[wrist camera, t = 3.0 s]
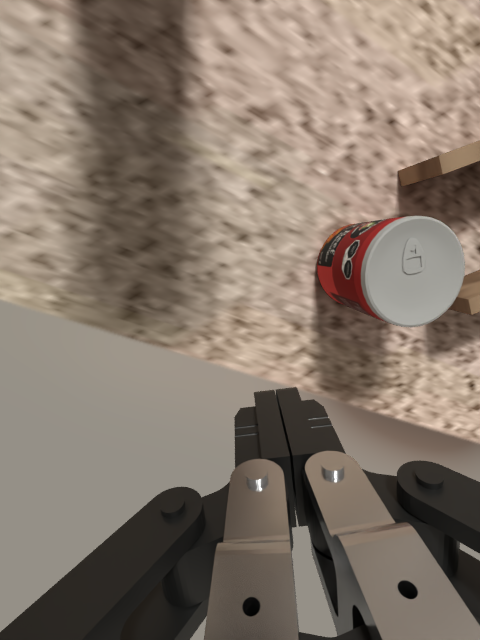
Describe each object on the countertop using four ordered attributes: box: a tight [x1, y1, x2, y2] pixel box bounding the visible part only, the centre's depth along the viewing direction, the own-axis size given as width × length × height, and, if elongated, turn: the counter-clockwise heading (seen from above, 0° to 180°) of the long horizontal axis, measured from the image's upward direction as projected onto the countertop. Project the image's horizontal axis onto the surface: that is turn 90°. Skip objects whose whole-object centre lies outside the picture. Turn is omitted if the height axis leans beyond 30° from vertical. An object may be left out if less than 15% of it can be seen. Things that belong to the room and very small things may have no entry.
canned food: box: [317, 216, 465, 327], centre depth 30 cm, size 8×8×11 cm
